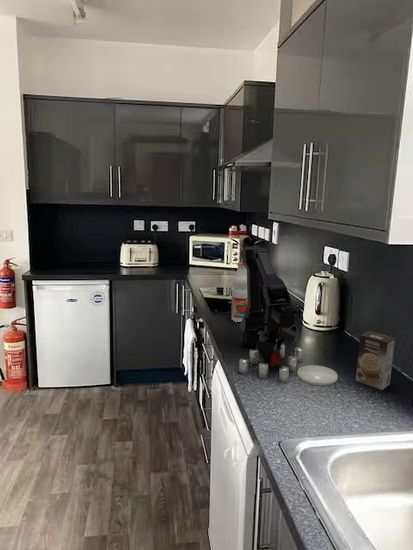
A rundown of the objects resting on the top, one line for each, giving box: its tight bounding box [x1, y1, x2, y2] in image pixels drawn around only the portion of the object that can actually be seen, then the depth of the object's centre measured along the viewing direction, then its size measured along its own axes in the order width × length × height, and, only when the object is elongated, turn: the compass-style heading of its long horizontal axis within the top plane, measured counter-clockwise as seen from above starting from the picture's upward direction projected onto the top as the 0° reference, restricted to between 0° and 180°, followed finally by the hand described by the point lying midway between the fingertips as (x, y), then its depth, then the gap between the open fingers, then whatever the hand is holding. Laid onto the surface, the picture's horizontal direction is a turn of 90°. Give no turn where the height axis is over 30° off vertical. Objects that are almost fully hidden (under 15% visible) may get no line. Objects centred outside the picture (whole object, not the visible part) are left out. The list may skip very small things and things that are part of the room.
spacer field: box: [238, 343, 305, 384], centre depth 148 cm, size 17×22×4 cm
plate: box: [296, 364, 339, 387], centre depth 140 cm, size 13×13×1 cm
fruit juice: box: [231, 261, 248, 323], centre depth 197 cm, size 9×9×28 cm
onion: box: [269, 348, 281, 368], centre depth 147 cm, size 6×6×8 cm
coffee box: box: [355, 330, 396, 391], centre depth 134 cm, size 9×6×16 cm
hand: (272, 361), depth 148 cm, fingers open, 9 cm apart
